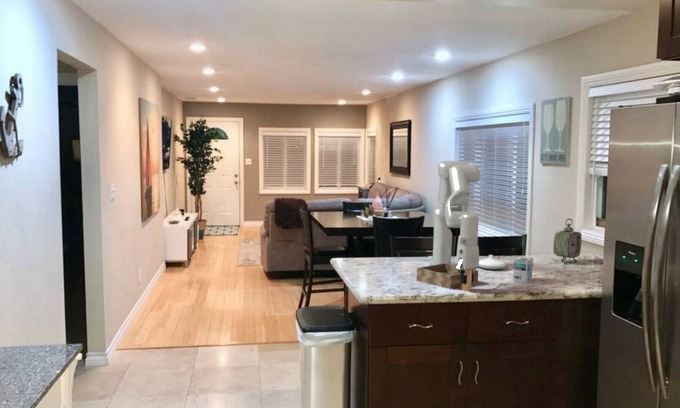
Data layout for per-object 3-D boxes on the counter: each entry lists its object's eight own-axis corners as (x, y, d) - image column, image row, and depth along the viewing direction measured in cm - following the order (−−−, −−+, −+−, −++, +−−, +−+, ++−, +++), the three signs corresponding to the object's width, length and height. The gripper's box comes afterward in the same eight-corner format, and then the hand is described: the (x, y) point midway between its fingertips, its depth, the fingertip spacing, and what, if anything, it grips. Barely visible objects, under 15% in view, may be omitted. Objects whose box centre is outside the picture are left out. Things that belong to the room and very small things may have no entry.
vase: (512, 271, 295) (512, 257, 294) (484, 272, 290) (485, 258, 289) (495, 264, 310) (496, 252, 309) (469, 265, 305) (470, 252, 304)
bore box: (416, 280, 267) (417, 267, 267) (444, 275, 280) (444, 263, 280) (450, 289, 252) (450, 275, 252) (477, 283, 265) (478, 270, 264)
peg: (459, 289, 252) (460, 267, 251) (465, 288, 254) (466, 266, 253) (467, 291, 249) (468, 268, 248) (472, 290, 251) (473, 267, 250)
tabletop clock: (566, 265, 313) (569, 220, 310) (551, 262, 320) (554, 218, 317) (580, 262, 322) (583, 218, 319) (565, 259, 329) (567, 216, 326)
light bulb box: (526, 283, 267) (528, 261, 266) (512, 281, 270) (513, 259, 269) (532, 279, 276) (533, 257, 275) (518, 277, 279) (519, 255, 278)
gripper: (463, 244, 241) (461, 287, 243) (487, 241, 252) (485, 282, 254) (449, 242, 247) (447, 283, 249) (473, 239, 258) (471, 278, 260)
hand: (466, 282), depth 251 cm, fingers closed on peg, 4 cm apart
